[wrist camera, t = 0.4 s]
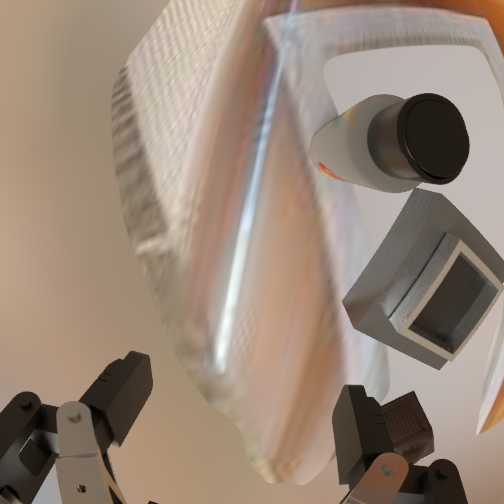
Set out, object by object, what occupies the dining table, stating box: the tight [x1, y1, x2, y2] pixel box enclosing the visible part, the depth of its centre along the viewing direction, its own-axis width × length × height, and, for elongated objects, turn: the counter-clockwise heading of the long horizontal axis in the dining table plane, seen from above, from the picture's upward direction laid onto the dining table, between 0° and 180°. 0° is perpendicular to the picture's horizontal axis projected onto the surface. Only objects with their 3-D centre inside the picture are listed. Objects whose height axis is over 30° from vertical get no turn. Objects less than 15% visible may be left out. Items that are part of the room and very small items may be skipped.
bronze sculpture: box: [381, 391, 434, 465], centre depth 31 cm, size 16×11×18 cm
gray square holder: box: [342, 188, 504, 370], centre depth 26 cm, size 16×16×9 cm
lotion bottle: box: [310, 93, 470, 193], centre depth 18 cm, size 6×6×20 cm
